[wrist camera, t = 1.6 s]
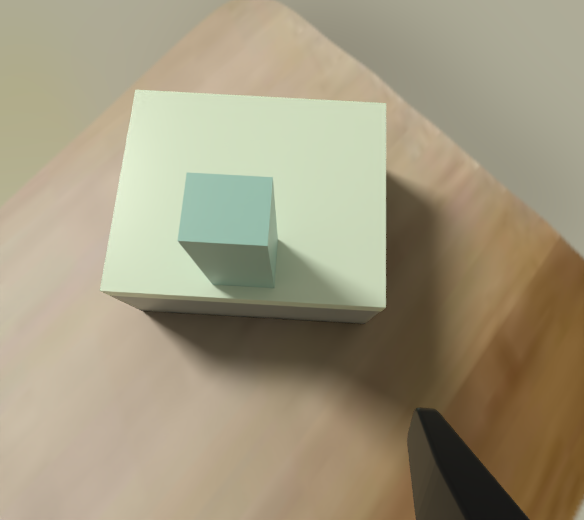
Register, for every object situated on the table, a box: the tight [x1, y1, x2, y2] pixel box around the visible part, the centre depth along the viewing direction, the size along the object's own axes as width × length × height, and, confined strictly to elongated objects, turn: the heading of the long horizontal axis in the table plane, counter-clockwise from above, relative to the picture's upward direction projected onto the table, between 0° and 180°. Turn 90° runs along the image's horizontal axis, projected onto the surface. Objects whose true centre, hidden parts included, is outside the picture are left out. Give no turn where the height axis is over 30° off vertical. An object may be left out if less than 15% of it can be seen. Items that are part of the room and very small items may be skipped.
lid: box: [100, 90, 386, 312], centre depth 16 cm, size 9×11×6 cm
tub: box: [112, 296, 380, 324], centre depth 21 cm, size 9×11×4 cm
